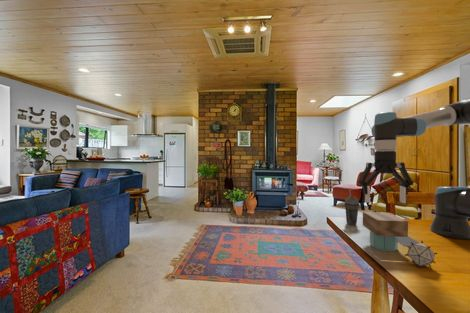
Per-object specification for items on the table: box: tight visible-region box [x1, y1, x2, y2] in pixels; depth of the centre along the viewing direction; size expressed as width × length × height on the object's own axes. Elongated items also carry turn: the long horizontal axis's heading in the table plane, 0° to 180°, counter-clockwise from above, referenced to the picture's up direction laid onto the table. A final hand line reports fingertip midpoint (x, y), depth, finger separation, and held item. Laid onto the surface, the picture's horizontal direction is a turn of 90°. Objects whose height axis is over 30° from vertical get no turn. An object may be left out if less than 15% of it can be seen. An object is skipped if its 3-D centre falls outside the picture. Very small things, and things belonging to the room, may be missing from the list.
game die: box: [404, 240, 438, 269], centre depth 81 cm, size 9×8×10 cm
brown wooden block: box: [362, 211, 409, 237], centre depth 96 cm, size 11×13×6 cm
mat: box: [398, 235, 420, 248], centre depth 104 cm, size 9×15×1 cm, turn 174°
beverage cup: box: [344, 188, 360, 227], centre depth 126 cm, size 7×7×20 cm
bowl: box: [369, 230, 399, 252], centre depth 96 cm, size 9×9×7 cm
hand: (384, 202), depth 96 cm, fingers open, 13 cm apart
